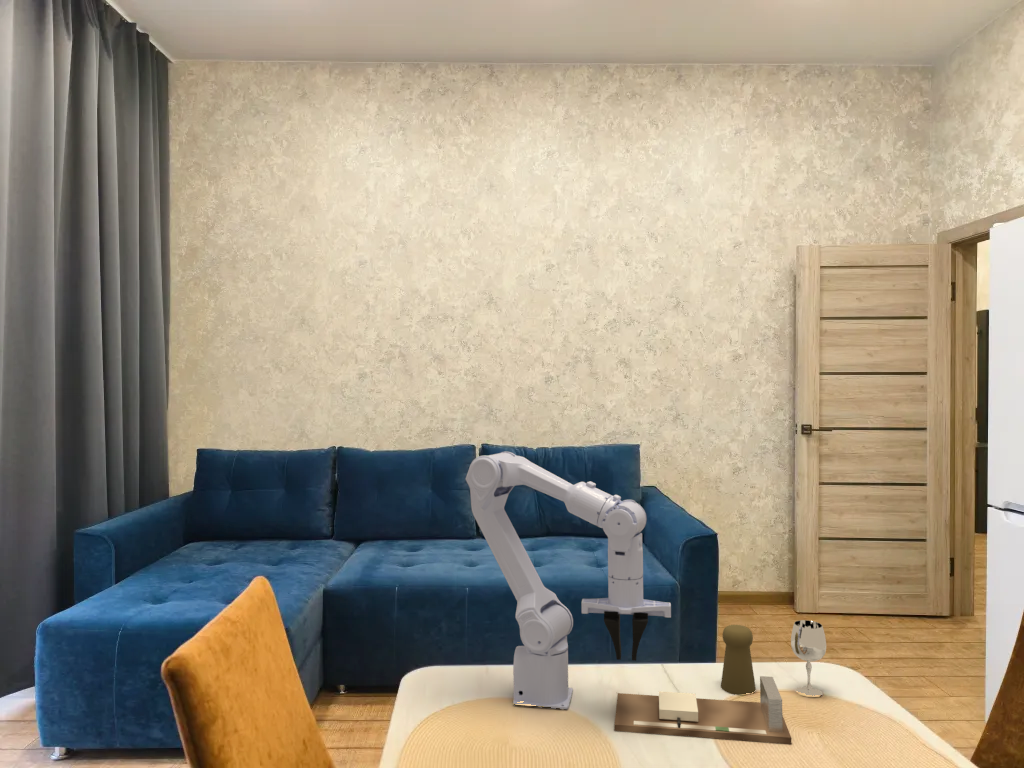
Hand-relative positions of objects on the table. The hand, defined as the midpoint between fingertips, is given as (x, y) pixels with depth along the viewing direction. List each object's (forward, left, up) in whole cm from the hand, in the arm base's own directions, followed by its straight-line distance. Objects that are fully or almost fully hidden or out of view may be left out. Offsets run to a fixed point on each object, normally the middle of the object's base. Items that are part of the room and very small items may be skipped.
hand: (626, 657), depth 122 cm
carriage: (+8, -1, -8) cm, 12 cm away
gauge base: (+11, 0, -9) cm, 15 cm away
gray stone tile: (+23, 0, -9) cm, 25 cm away
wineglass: (+31, +14, -10) cm, 36 cm away
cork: (+19, +14, -10) cm, 26 cm away
